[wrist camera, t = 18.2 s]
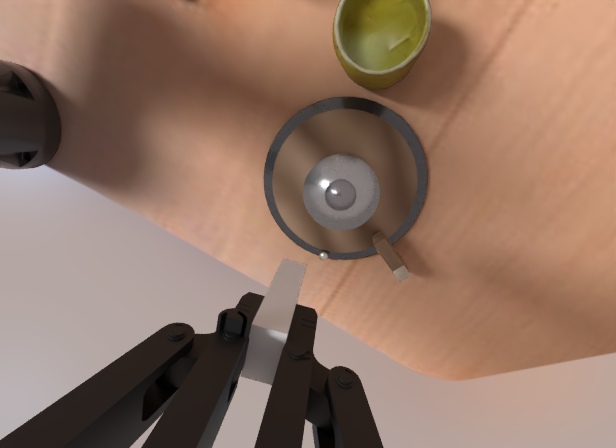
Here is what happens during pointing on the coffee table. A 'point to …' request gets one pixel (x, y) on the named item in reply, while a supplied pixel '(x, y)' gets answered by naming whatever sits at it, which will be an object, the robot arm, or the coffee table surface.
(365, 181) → the cover
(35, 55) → the coffee table surface
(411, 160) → the platter
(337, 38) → the mug
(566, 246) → the coffee table surface
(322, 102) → the susan base
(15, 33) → the coffee table surface
